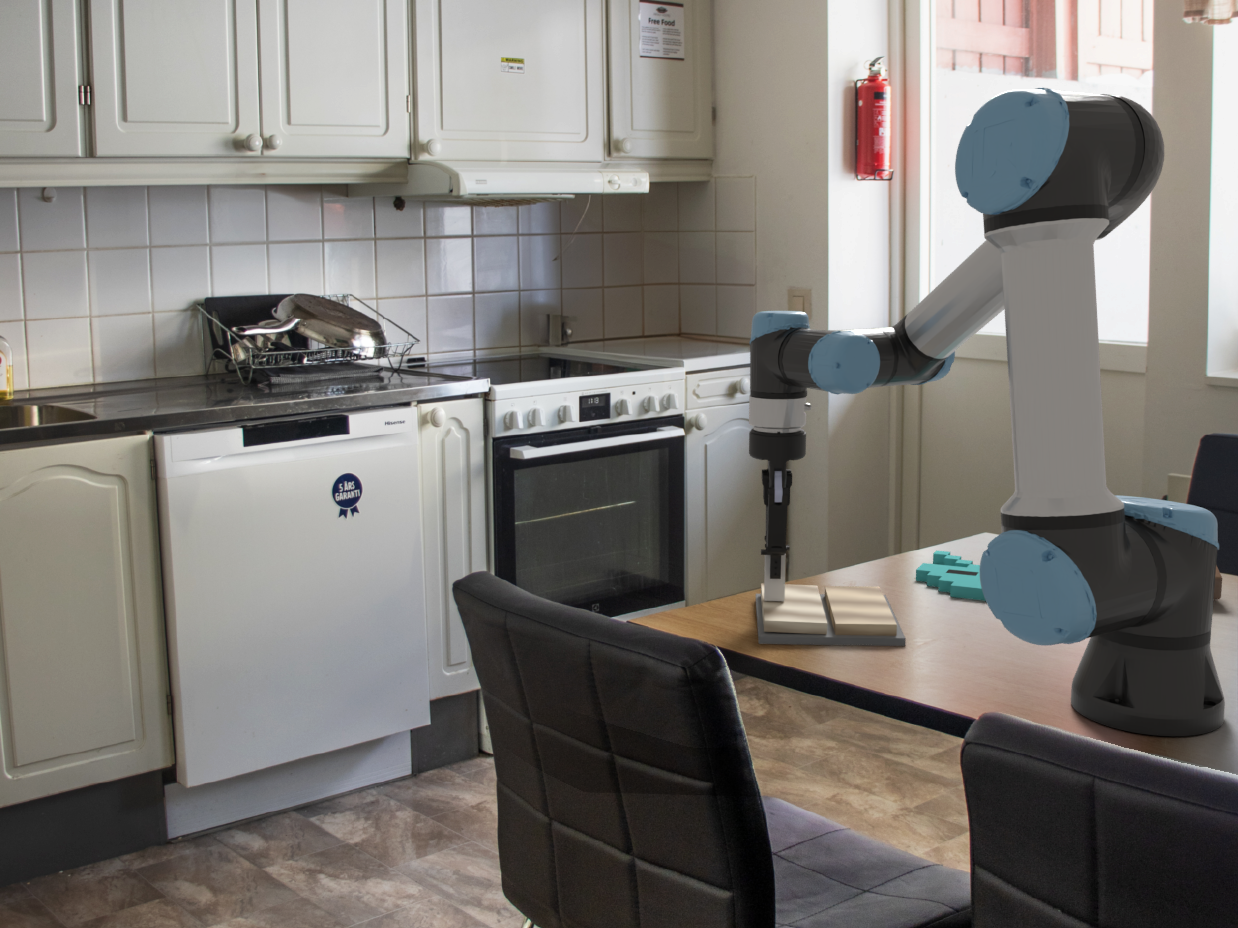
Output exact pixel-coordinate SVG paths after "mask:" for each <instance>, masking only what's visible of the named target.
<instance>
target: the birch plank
mask: <svg viewBox="0 0 1238 928" xmlns="http://www.w3.org/2000/svg"><path fill="white" fill-rule="evenodd" d="M760 594H761V602H762V613H763V624H764V632H784V633H806V634H827V620H826V616H825V612H824V609H823V605H822V601H821V597H820V594H821V593H820V590H819V587H818V585H811V584H789V583H788V584H787V583H785V601H764V582H763V583H760Z"/></svg>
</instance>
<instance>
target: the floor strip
mask: <svg viewBox="0 0 1238 928" xmlns="http://www.w3.org/2000/svg"><path fill="white" fill-rule="evenodd" d="M824 594H825V599H826V603H827V606H828V610H829V613H830V617H831V621H832V624H833V628H834V631H835V635H876V636H897V624H896V622H895V619H894V617H893V615H892V613H891V611H890V608H889V606H888V604H887V602H886V600H885V597H884V595H885V594H884V593H883V591H882V589H881V587H880V586H867V585H866V586H865V585H863V586H859V585H857V586H852V585H851V586H849V585H846V586H844V585H838V586H837V585H824Z"/></svg>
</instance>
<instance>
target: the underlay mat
mask: <svg viewBox="0 0 1238 928" xmlns="http://www.w3.org/2000/svg"><path fill="white" fill-rule="evenodd" d="M883 595H884V597H885V600H886V602H887V604H888V606H889V608H890V611H891V613H892V615H893V617H894V619H895V622H896V624H897V636H876V635H835V631H834V628H833V624H832V621H831V617H830V613H829V610H828V606H827V603H826V599H825V593H820V597H821V601H822V605H823V609H824V612H825V616H826V620H827V634H806V633H784V632H764V624H763V613H762V602H761V593H755V611H756V622H757V623H756V624H757V637H758V638H757V639H758V645H813V646H814V645H815V646H816V645H817V646H818V645H819V646H820V645H821V646H822V645H823V646H879V647H880V646H884V647H886V646H890V647H893V646H894V647H895V646H897V647H905V646H906V640H907V639H906V636H905V634H904V632H903V630H902V628H901V625H900V623H899V621H898V618H897V617H896V614H895V613H894V612H895V611H894V609H893V608H892V606H891V604H890V601H889V600H888V597H887V595H886V594H883Z"/></svg>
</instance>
